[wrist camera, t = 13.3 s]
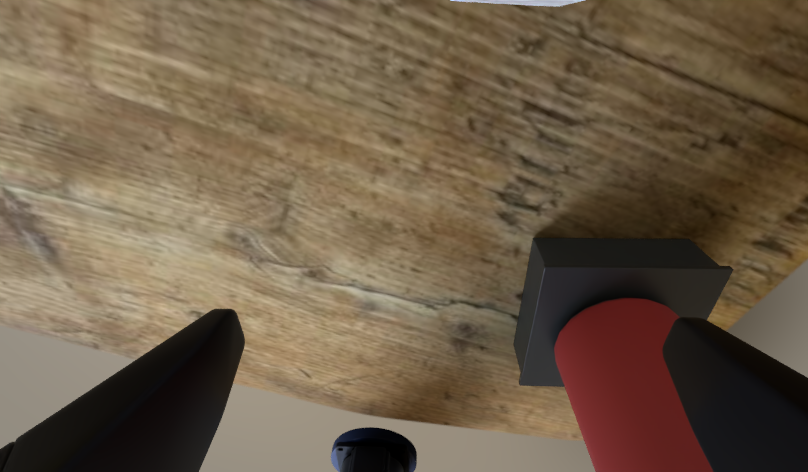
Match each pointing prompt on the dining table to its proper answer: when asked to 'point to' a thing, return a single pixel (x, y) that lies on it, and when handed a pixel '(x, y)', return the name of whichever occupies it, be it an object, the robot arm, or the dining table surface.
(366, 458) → the robot arm
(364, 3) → the dining table surface
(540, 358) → the block
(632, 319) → the beer can
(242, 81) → the dining table surface
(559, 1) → the cup
